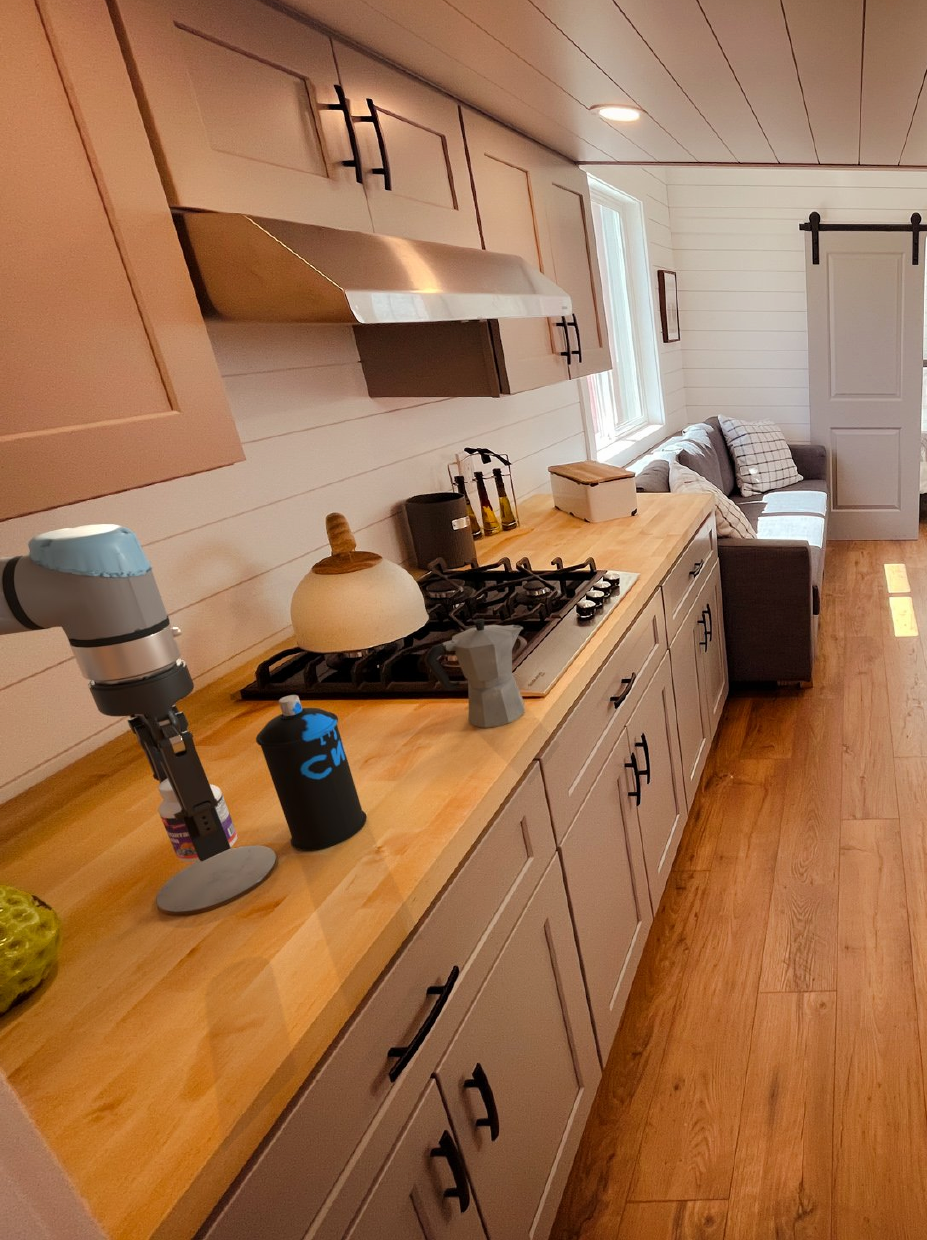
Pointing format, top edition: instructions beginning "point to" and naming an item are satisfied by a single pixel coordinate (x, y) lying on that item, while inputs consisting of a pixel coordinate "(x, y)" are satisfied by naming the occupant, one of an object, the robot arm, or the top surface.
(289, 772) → the aerosol can
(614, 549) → the top surface
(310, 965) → the top surface
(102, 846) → the top surface
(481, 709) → the coffeepot
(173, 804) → the pill bottle
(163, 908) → the coaster
